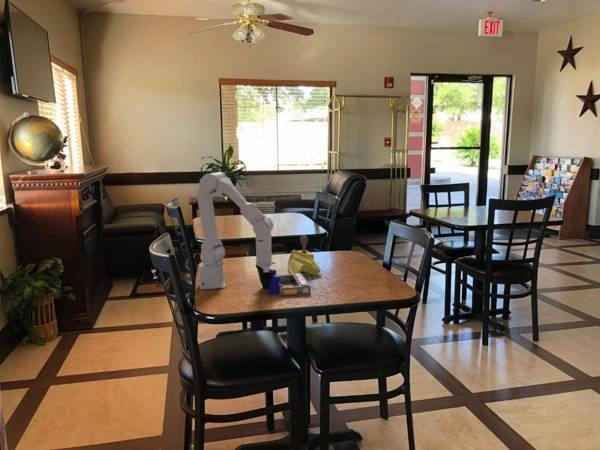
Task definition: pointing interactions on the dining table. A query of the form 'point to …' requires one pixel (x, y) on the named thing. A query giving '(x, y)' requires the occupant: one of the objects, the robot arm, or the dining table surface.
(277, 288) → the blue arched block
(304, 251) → the rubber stamp
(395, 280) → the dining table surface
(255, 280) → the dining table surface
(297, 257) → the plastic component
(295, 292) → the rack
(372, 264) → the dining table surface
